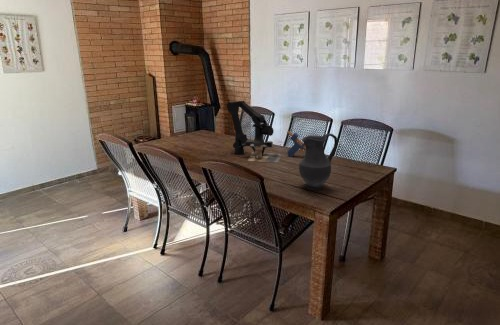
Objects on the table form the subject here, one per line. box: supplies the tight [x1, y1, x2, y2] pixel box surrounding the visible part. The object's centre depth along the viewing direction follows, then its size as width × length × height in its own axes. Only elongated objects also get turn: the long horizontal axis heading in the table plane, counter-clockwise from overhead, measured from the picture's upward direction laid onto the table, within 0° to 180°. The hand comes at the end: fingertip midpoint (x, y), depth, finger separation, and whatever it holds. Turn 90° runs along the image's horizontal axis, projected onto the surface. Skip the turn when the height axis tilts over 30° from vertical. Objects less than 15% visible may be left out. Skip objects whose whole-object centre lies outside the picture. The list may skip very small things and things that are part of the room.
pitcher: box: [298, 132, 339, 191], centre depth 187 cm, size 17×21×30 cm
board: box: [247, 152, 281, 164], centre depth 239 cm, size 21×14×4 cm, turn 78°
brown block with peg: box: [255, 148, 263, 159], centre depth 238 cm, size 4×10×5 cm, turn 168°
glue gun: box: [286, 130, 306, 158], centre depth 246 cm, size 6×31×15 cm
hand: (259, 155), depth 240 cm, fingers closed on brown block with peg, 4 cm apart
